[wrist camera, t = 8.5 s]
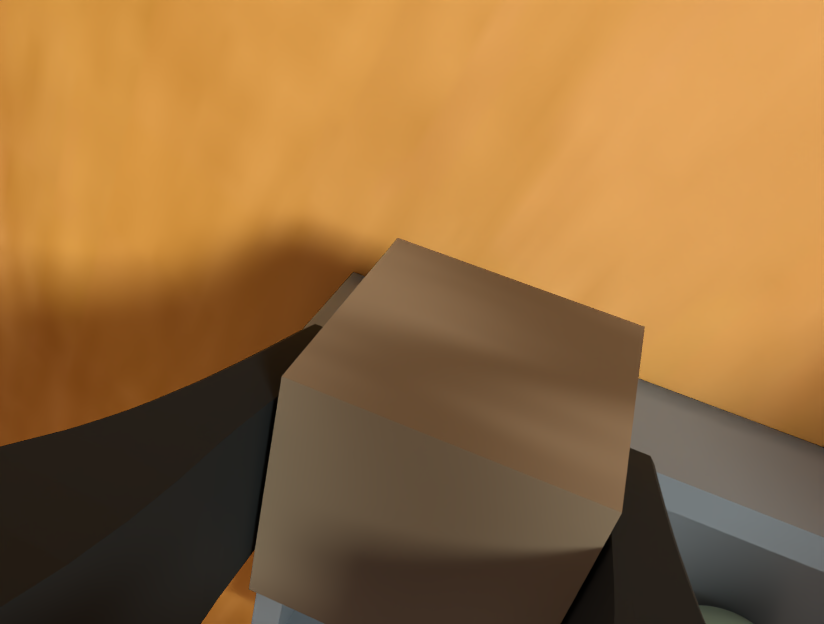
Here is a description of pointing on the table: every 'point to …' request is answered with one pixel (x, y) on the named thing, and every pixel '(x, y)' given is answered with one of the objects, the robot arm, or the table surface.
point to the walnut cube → (447, 450)
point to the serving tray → (712, 504)
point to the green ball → (721, 616)
